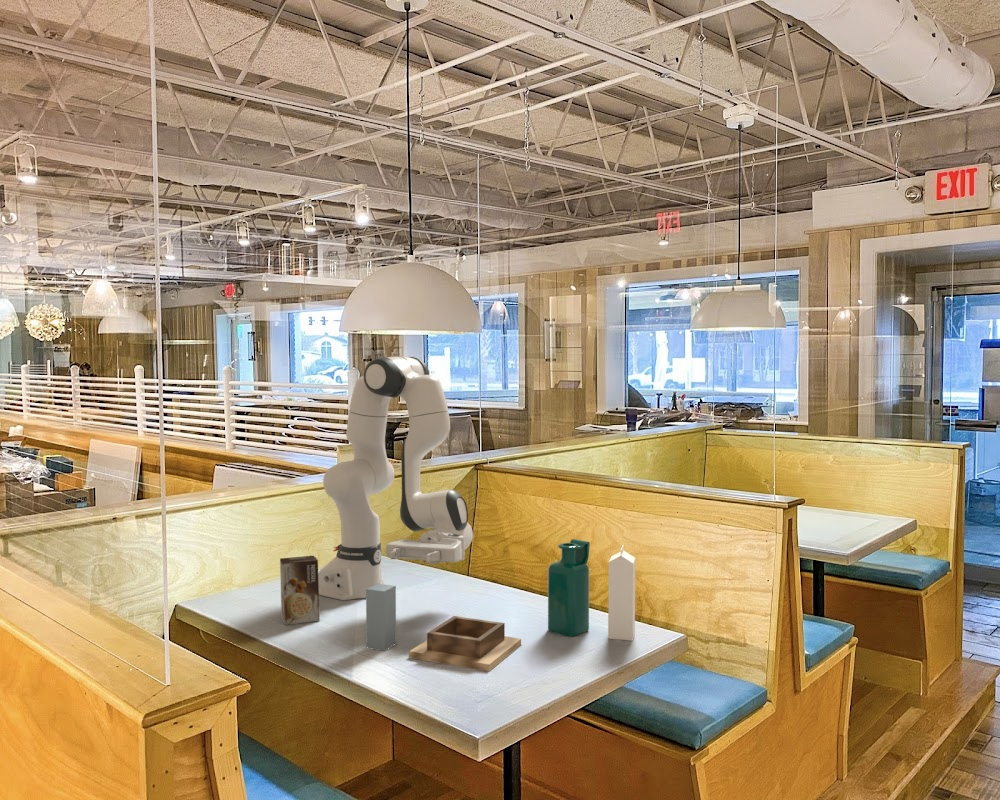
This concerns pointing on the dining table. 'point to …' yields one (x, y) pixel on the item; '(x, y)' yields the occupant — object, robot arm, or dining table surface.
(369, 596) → the grey block
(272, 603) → the dining table surface
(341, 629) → the dining table surface
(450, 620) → the caddy
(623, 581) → the milk
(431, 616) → the dining table surface
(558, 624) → the green tall squared bottle
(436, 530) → the robot arm
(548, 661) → the dining table surface
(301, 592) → the coffee box
